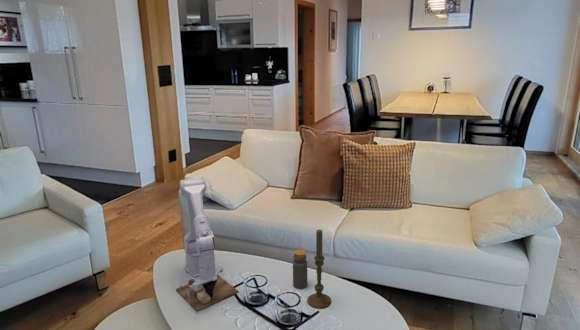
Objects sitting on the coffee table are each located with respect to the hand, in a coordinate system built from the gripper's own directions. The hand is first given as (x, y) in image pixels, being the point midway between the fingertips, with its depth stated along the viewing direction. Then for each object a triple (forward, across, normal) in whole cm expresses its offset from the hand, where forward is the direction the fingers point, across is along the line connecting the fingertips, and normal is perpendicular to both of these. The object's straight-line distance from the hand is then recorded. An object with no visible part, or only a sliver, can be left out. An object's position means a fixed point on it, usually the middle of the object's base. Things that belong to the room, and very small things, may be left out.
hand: (209, 296), depth 149 cm
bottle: (+2, +27, -24) cm, 36 cm away
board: (+2, +4, +5) cm, 6 cm away
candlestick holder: (+2, +21, -36) cm, 42 cm away
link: (0, 0, +6) cm, 6 cm away
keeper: (+1, -2, +6) cm, 6 cm away
